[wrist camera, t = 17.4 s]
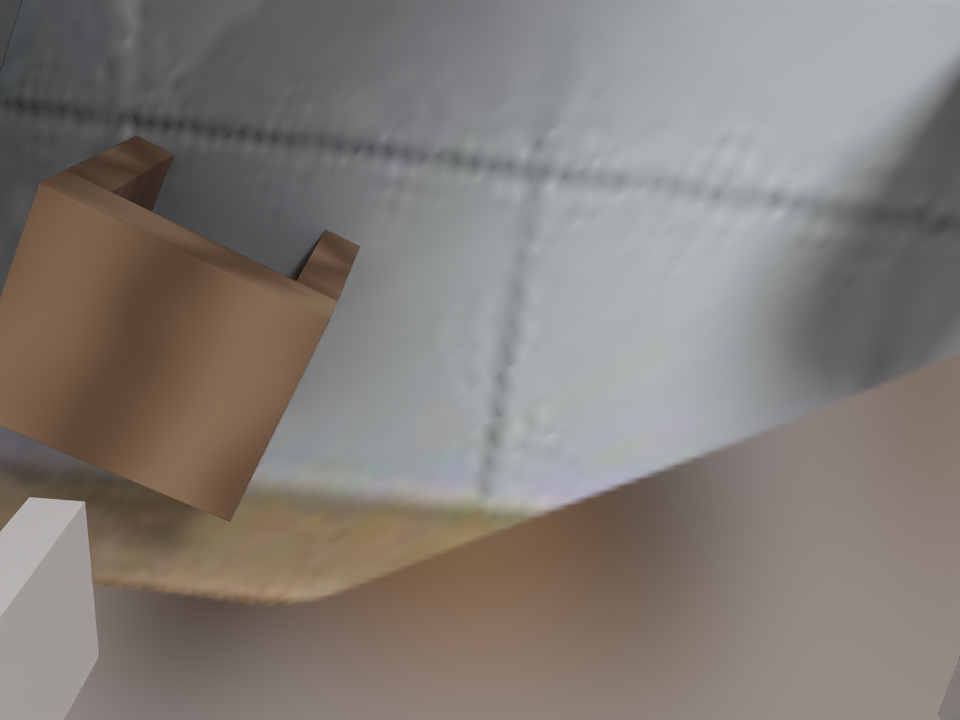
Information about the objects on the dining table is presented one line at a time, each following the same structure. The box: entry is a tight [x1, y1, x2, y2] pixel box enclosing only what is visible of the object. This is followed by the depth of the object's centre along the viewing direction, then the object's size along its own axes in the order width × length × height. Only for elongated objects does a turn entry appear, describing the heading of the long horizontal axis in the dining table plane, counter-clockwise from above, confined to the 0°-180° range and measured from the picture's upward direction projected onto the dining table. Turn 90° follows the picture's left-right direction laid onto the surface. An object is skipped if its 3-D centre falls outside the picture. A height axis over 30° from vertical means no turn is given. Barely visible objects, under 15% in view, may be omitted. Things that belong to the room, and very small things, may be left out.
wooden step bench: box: [0, 136, 360, 522], centre depth 35 cm, size 13×9×14 cm
